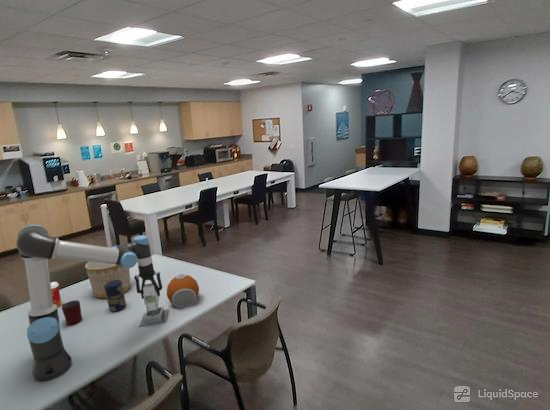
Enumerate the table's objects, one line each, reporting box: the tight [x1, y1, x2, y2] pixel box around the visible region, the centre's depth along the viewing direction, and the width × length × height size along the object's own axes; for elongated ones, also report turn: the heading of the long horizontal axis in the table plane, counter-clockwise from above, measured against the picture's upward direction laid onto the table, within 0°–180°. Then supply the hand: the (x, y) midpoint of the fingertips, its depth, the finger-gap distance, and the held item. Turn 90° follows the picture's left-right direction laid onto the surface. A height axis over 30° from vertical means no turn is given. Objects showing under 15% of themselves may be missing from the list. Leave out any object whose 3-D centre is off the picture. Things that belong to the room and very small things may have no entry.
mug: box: [61, 300, 83, 326], centre depth 199 cm, size 12×9×11 cm
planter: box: [84, 261, 131, 299], centre depth 232 cm, size 26×26×22 cm
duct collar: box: [139, 306, 170, 328], centre depth 195 cm, size 14×14×4 cm
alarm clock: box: [166, 273, 200, 308], centre depth 210 cm, size 19×18×17 cm
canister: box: [104, 280, 127, 312], centre depth 208 cm, size 10×10×18 cm
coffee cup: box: [50, 281, 62, 309], centre depth 218 cm, size 8×8×15 cm
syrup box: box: [143, 282, 159, 312], centre depth 193 cm, size 6×6×14 cm
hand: (152, 302), depth 193 cm, fingers closed on syrup box, 6 cm apart
